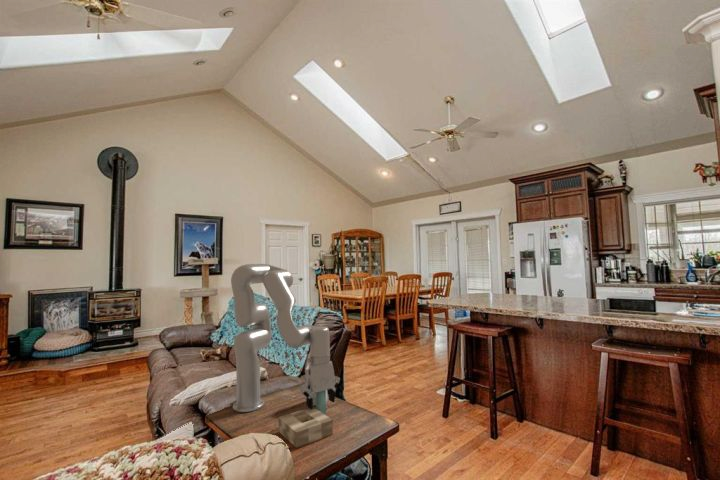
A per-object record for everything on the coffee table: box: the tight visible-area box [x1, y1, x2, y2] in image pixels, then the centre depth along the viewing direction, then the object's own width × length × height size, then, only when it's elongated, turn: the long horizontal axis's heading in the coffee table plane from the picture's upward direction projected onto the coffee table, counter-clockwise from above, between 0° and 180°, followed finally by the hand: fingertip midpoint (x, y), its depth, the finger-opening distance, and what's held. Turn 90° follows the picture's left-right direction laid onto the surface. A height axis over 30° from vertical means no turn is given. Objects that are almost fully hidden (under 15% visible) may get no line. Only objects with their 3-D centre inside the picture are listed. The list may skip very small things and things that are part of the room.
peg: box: [315, 390, 327, 416], centre depth 134 cm, size 4×4×12 cm
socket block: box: [278, 406, 334, 449], centre depth 123 cm, size 14×14×5 cm
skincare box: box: [304, 364, 329, 407], centre depth 149 cm, size 8×7×16 cm
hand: (321, 404), depth 134 cm, fingers open, 9 cm apart
